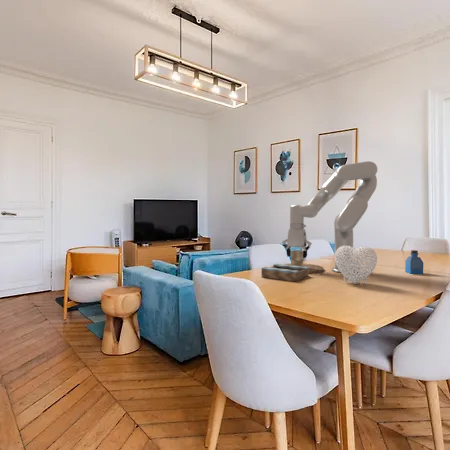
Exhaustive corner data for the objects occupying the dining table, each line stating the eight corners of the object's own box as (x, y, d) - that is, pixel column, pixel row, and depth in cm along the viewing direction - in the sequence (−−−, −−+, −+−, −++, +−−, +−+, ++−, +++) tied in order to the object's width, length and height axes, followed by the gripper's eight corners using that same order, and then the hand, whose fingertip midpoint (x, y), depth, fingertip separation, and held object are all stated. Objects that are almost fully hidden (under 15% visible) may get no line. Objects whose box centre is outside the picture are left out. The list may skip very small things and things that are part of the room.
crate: (308, 276, 169) (308, 267, 169) (294, 281, 156) (294, 271, 156) (276, 272, 180) (276, 263, 179) (261, 277, 167) (261, 268, 167)
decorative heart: (331, 283, 152) (332, 246, 151) (337, 279, 161) (338, 244, 160) (374, 288, 142) (375, 248, 141) (378, 283, 151) (379, 246, 150)
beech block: (302, 266, 188) (302, 251, 188) (299, 268, 184) (299, 251, 184) (294, 265, 191) (294, 250, 191) (290, 267, 187) (290, 251, 187)
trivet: (291, 265, 205) (291, 262, 205) (330, 269, 189) (330, 266, 189) (269, 271, 186) (269, 267, 186) (311, 276, 170) (311, 273, 170)
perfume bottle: (417, 272, 177) (417, 249, 176) (423, 274, 170) (423, 251, 170) (405, 272, 177) (405, 249, 177) (410, 274, 171) (410, 251, 170)
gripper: (314, 226, 184) (313, 257, 185) (285, 226, 195) (285, 255, 196) (308, 227, 178) (308, 259, 179) (279, 226, 189) (279, 256, 190)
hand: (296, 257), depth 187 cm, fingers open, 9 cm apart
